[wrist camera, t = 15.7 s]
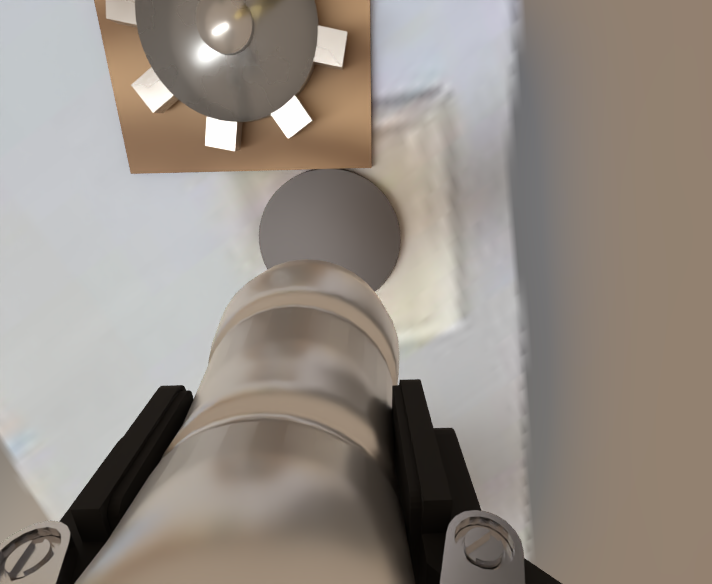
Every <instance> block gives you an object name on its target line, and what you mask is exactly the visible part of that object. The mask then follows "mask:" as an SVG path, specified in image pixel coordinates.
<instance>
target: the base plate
mask: <svg viewBox="0 0 712 584" xmlns="http://www.w3.org/2000/svg"><path fill="white" fill-rule="evenodd" d="M94 2H95V7H96V11H97V16H98V21H99V25H100V30H101V35H102V40H103V44H104V49H105V54H106V58H107V63H108V68H109V73H110V77H111V82H112V87H113V91H114V96H115V101H116V106H117V110H118V115H119V120H120V124H121V129H122V134H123V139H124V143H125V148H126V153H127V157H128V162H129V167H130V172H131V174H139V173H179V172H219V171H260V170H300V169H340V168H371V61H370V0H315V4H316V8H317V13H318V19H319V26H323V27H328V28H333V29H337V30H342V31H347V33H348V38H347V44H346V51H345V57H344V64H343V70H340V69H335V68H330V67H325V66H320V65H315V66H314V69H313V72H312V74H311V76H310V79H309V81H308V83H307V84H306V86H305V87H304V89H303V91H302V92H301V93H300V94H299V96H298V98H299V99H300V101H301V102H302V104H303V105H304V107H305V108H306V110H307V111H308V113H309V114H310V116H311V117H312V119H313V120H314V121H313V122H312V123H310V124H309V125H308V126H306V127H305V128H304V129H302V130H301V131H300V132H298V133H297V134H296V135H295V136H293V137H292V138H289V139H288V138H287V136H286V135H285V133H284V132H283V131H282V129H281V128H280V126H279V125H278V124H277V122H276V121H275V119H274V118H273V116H271V117H268V118H265V119H262V120H258V121H251V122H243V123H242V136H241V149H240V150H237V151H232V150H227V149H221V148H216V147H211V146H205V140H206V120H207V116H205V115H203V114H200V113H198V112H196V111H195V110H193V109H191V108H189V107H188V106H186V105H185V104H184V103H182V102H181V101H180V100H178V101H177V102H176V103H174V104H173V105H172V106H171V107H170V108H169V109H167V110H166V111H165V112H164V113H153V112H152V111H151V110H150V108H149V107H148V106H147V105H146V103H145V102H144V101H143V100H142V98H141V97H140V96H139V95H138V93H137V92H136V91H135V90H134V88H133V87H132V86H131V85H132V84H133V83H134V82H135V81H136V80H137V79H138V78H139V77H141V76H142V75H143V74H144V73H145V72H146V71H147V70H149V69H150V68H151V65H150V63H149V61H148V59H147V57H146V55H145V52H144V50H143V47H142V44H141V41H140V38H139V34H138V29H137V28H136V27H131V26H126V25H121V24H118V23H116V22H113V21H111V20H109V19H106V0H94Z"/></svg>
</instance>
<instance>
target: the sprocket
mask: <svg viewBox="0 0 712 584" xmlns="http://www.w3.org/2000/svg"><path fill="white" fill-rule="evenodd" d="M106 19H109V20H111V21H113V22H116V23H118V24H121V25H126V26H131V27H136V28H137V29H138V34H139V38H140V41H141V44H142V47H143V50H144V52H145V55H146V57H147V59H148V61H149V63H150V65H151V68H150V69H149V70H147V71H146V72H145V73H144V74H143V75H142V76H141V77H139V78H138V79H137V80H136V81H135V82H134V83H133V84H132V85H131V86H132V87H133V88H134V90H135V91H136V92H137V93H138V95H139V96H140V97H141V98H142V100H143V101H144V102H145V103H146V105H147V106H148V107H149V108H150V110H151V111H152V112H153V113H164V112H165V111H166V110H167V109H169V108H170V107H171V106H172V105H173V104H174V103H176V102H177V101H178V100H180V101H181V102H182V103H184V104H185V105H186V106H188V107H189V108H191V109H193V110H195V111H196V112H198V113H200V114H203V115H205V116H207V120H206V140H205V146H211V147H216V148H221V149H227V150H232V151H237V150H240V149H241V136H242V123H243V122H251V121H258V120H262V119H265V118H268V117H271V116H273V118H274V119H275V121H276V122H277V124H278V125H279V126H280V128H281V129H282V131H283V132H284V133H285V135H286V136H287V138H288V139H289V138H292V137H293V136H295V135H296V134H297V133H298V132H300V131H301V130H302V129H304V128H305V127H306V126H308V125H309V124H310V123H312V122H313V121H314V120H313V119H312V117H311V116H310V114H309V113H308V111H307V110H306V108H305V107H304V105H303V104H302V102H301V101H300V99H299V98H298V96H299V94H300V93H301V92H302V91H303V89H304V87H305V86H306V84H307V83H308V81H309V79H310V76H311V74H312V72H313V69H314V66H315V65H320V66H325V67H330V68H335V69H340V70H343V64H344V57H345V51H346V44H347V38H348V33H347V31H342V30H337V29H333V28H328V27H323V26H319V19H318V13H317V8H316V4H315V0H106Z"/></svg>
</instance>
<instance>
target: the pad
mask: <svg viewBox="0 0 712 584" xmlns="http://www.w3.org/2000/svg"><path fill="white" fill-rule="evenodd" d="M259 245H260V250H261V254H262V258H263V261H264V263H265V265H266V267H267V269H270V268H272V267H273V266H276V265H279V264H282V263H285V262H288V261H294V260H303V259H310V260H322V261H326V262H330V263H333V264H337V265H340V266H342V267H344V268H345V269H347V270H349V271H351V272H353V273H355V274H356V275H357V276H359V277H360V278H361V279H363V280H364V281H365V282H366V283H367V284H368V285H369V286H370V287H371V288H372V289H373V291H374V292H375V291H376V290H377V289H378V288H380V287H381V285H382V284H383V283H384V282H385V281H386V280H387V278H388V277H389V275H390V274H391V272H392V270H393V268H394V266H395V264H396V261H397V258H398V254H399V250H400V229H399V224H398V220H397V217H396V214H395V212H394V210H393V208H392V206H391V204H390V202H389V201H388V199H387V198H386V196H385V195H384V194H383V193H382V192H381V190H380V189H379V188H378V187H376V186H375V185H374V184H373V183H372V182H370V181H369V180H367V179H366V178H364V177H362V176H360V175H358V174H356V173H353V172H350V171H347V170H342V169H315V170H311V171H307V172H304V173H302V174H299V175H297V176H296V177H294V178H292V179H290V180H289V181H288V182H286V183H285V184H284V185H282V186H281V187H280V188H279V189H278V190H277V191H276V192H275V194H274V195H273V196H272V198H271V199H270V200H269V202H268V204H267V206H266V208H265V210H264V212H263V215H262V218H261V223H260V229H259Z"/></svg>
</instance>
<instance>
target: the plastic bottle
mask: <svg viewBox="0 0 712 584" xmlns="http://www.w3.org/2000/svg"><path fill="white" fill-rule="evenodd" d="M399 355H400V354H399V344H398V336H397V333H396V330H395V327H394V324H393V321H392V319H391V318H390V316H389V314H388V312H387V311H386V309H385V307H384V305H383V304H382V302H381V300H380V299H379V297H378V295H377V294H376V293H375V292H374V291H373V289H372V288H371V287H370V286H369V285H368V284H367V283H366V282H365V281H364V280H363V279H361V278H360V277H359V276H357V275H356V274H355V273H353V272H351V271H349V270H347V269H345V268H344V267H342V266H340V265H337V264H333V263H330V262H326V261H322V260H310V259H303V260H294V261H288V262H285V263H282V264H279V265H276V266H273V267H272V268H270V269H268V270H266V271H265V272H263V273H261V274H260V275H258V276H257V277H255V278H254V279H252V280H251V281H249V282H248V283H247V284H246V285H245V286H244V287H243V288H241V289H240V290H239V291H238V292H237V293H236V294H235V295H234V297H233V298H232V300H231V301H230V302H229V304H228V305H227V307H226V308H225V311H224V313H223V316H222V318H221V320H220V323H219V326H218V328H217V331H216V334H215V337H214V340H213V342H212V346H211V352H210V357H209V363H208V367H207V370H206V372H205V374H204V377H203V379H202V381H201V384H200V386H199V388H198V390H197V393H196V395H195V397H194V400H193V402H192V404H191V407H190V409H189V411H188V414H187V416H186V418H185V421H184V423H183V425H182V427H181V428H180V430H179V431H178V433H177V434H176V436H175V437H174V439H173V440H172V442H171V443H170V445H169V447H168V448H167V450H166V451H165V453H164V454H163V456H162V459H161V461H160V462H159V464H158V465H157V466H156V468H155V469H154V470H153V472H152V473H151V474H150V476H149V477H148V479H147V480H146V482H145V483H144V485H143V486H142V488H141V490H140V491H139V493H138V494H137V496H136V497H135V499H134V500H133V502H132V503H131V505H130V507H129V508H128V510H127V511H126V513H125V514H124V516H123V517H122V519H121V520H120V522H119V523H118V525H117V527H116V528H115V530H114V531H113V533H112V534H111V536H110V537H109V539H108V540H107V542H106V543H105V545H104V546H103V547H102V548H101V550H100V551H99V552H98V554H97V555H96V556H95V558H94V559H93V560H92V561H91V563H90V564H89V565H88V567H87V568H86V569H85V570H84V572H83V573H82V574H81V576H80V577H79V578H78V579H77V581H76V582H75V583H74V584H415V579H414V574H413V568H412V562H411V557H410V551H409V545H408V540H407V534H406V528H405V523H404V517H403V511H402V509H401V506H400V497H399V489H398V483H397V478H396V472H395V458H394V432H393V415H392V386H393V385H397V383H398V375H399Z"/></svg>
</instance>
